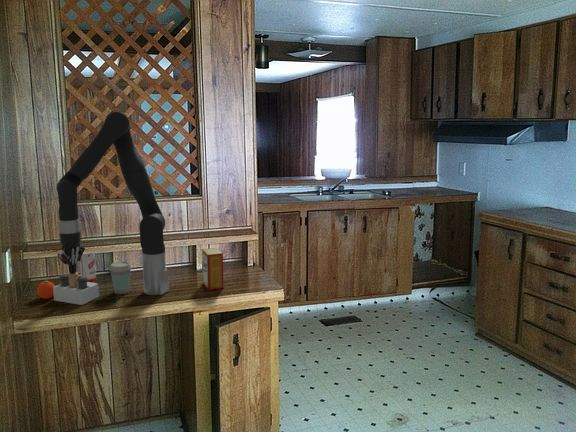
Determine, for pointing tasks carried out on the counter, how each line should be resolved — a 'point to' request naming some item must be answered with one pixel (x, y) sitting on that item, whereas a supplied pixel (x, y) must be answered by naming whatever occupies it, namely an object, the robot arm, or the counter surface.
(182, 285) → the counter surface
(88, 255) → the white red carton
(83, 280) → the black plug
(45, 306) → the counter surface
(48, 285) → the clementine
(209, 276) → the baking soda box
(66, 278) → the black plug
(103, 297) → the counter surface
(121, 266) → the coffee cup
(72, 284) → the terracotta plug
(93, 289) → the block
